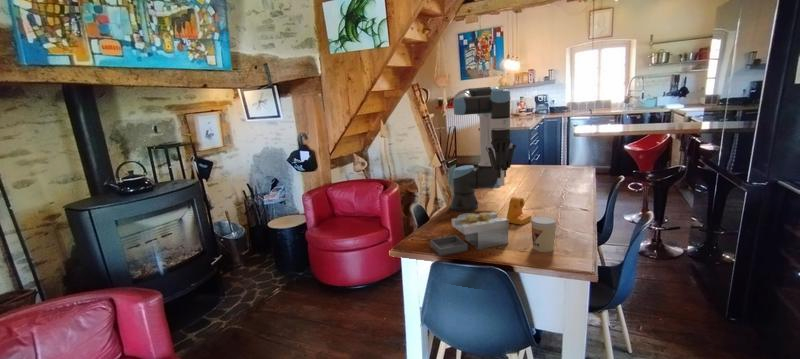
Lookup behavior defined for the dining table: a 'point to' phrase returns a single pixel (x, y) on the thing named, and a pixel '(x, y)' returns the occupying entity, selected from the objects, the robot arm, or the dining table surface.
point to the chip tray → (448, 245)
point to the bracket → (517, 211)
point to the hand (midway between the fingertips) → (501, 185)
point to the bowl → (465, 215)
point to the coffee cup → (543, 233)
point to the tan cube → (484, 216)
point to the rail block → (484, 231)
